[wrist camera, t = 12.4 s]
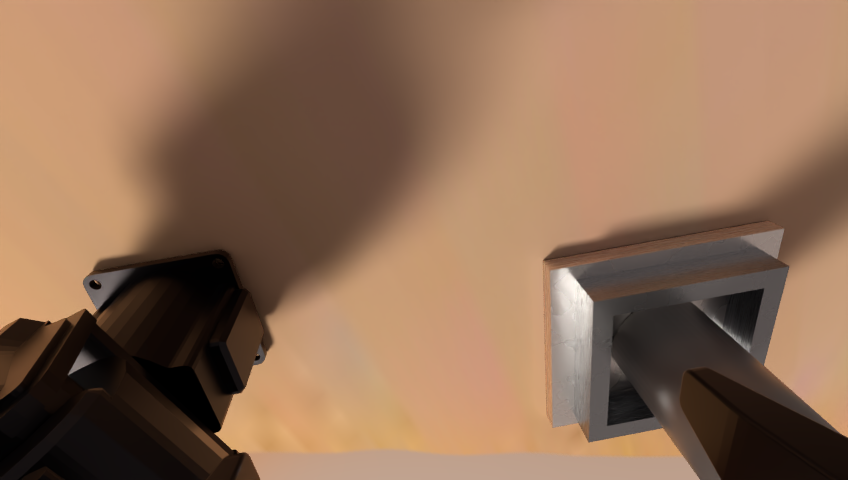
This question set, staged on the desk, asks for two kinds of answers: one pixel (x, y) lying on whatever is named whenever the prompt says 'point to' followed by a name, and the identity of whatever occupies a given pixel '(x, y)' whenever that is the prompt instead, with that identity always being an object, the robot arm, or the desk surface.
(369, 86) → the desk surface
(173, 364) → the robot arm
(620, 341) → the grey domed cylinder
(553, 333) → the square tray
